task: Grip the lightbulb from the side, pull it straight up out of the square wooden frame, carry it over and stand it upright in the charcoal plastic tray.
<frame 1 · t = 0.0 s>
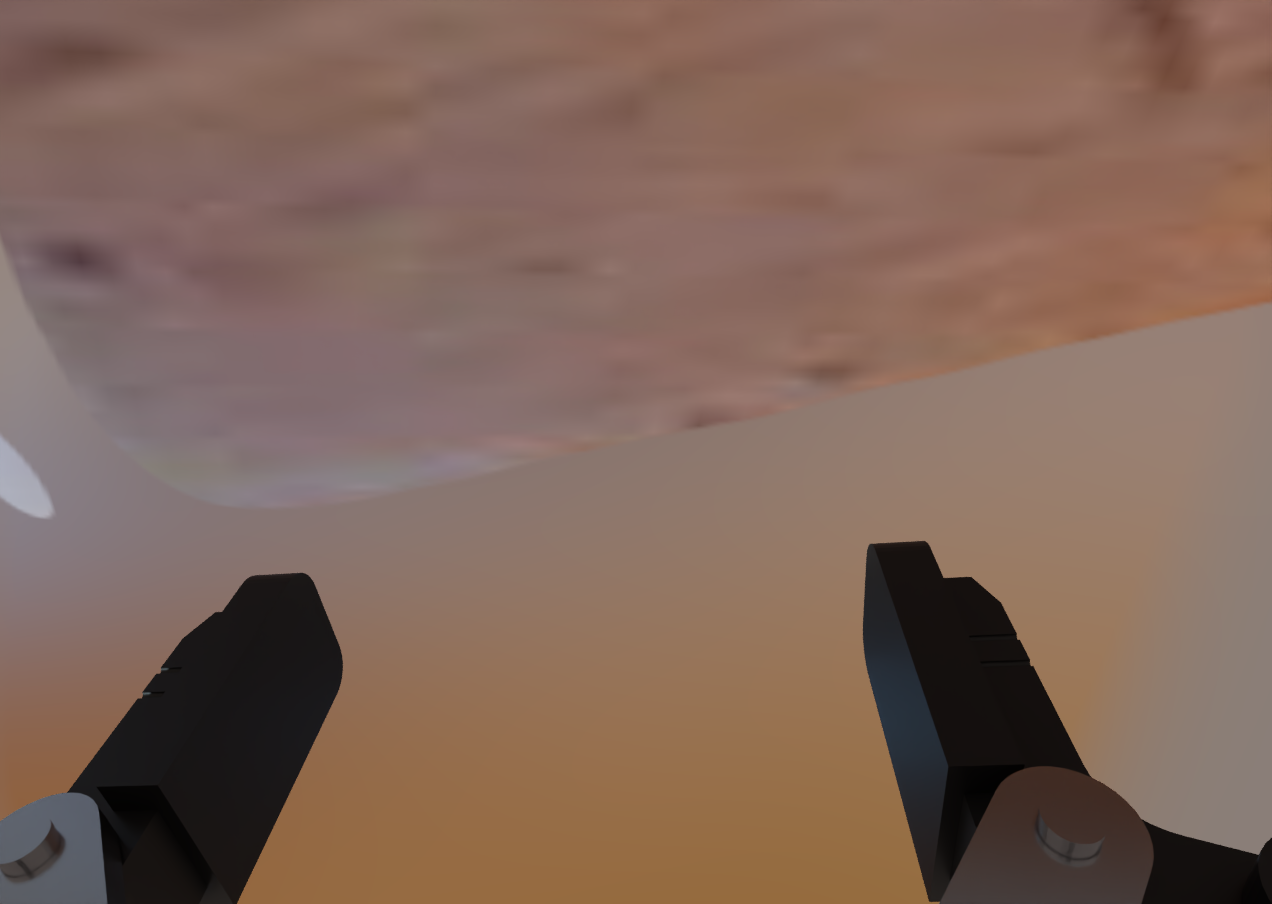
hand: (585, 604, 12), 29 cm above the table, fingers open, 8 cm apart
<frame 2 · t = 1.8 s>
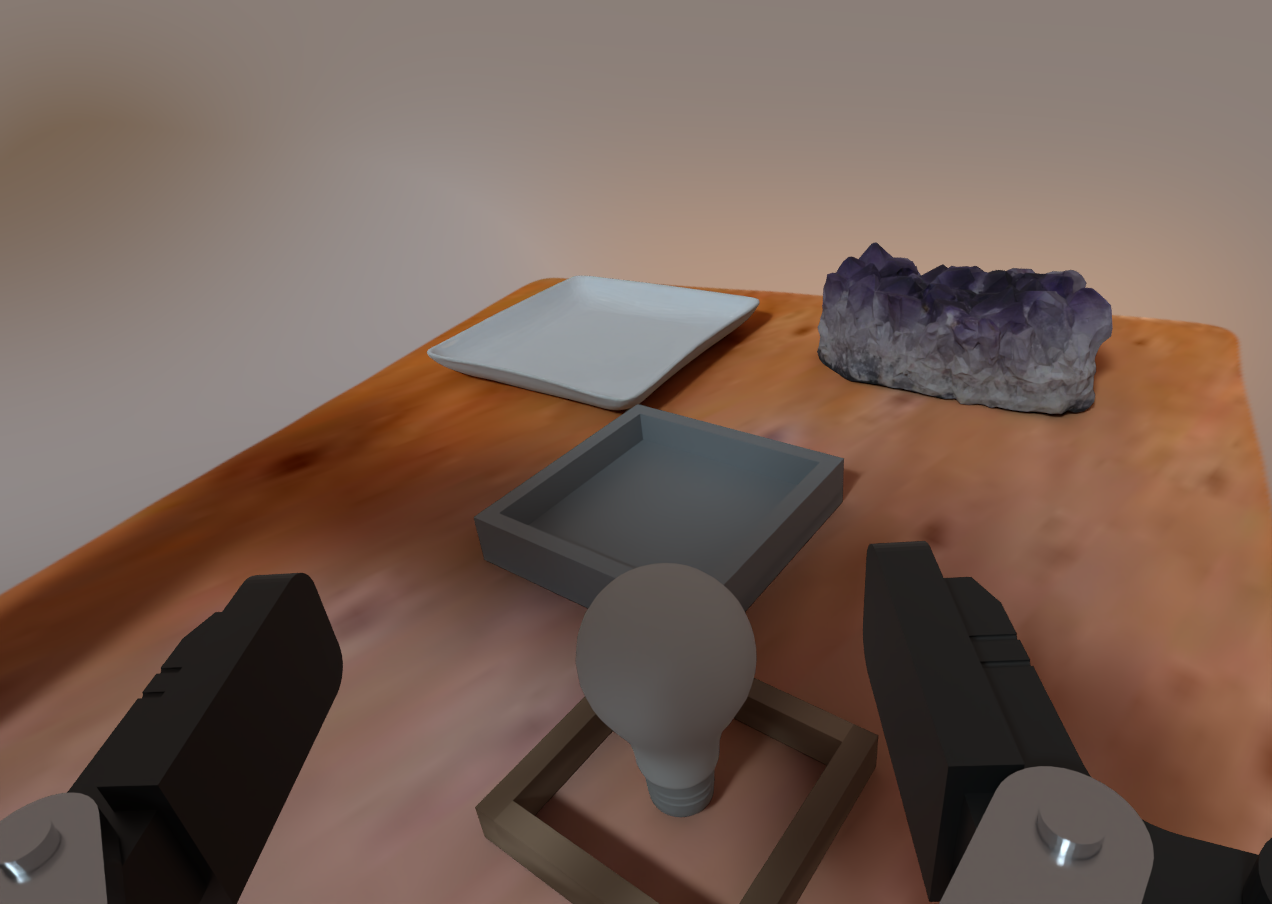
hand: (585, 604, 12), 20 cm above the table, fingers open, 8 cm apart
tray: (665, 530, 46), on the table
lightbulb: (683, 804, 31), resting in square wooden frame
salad plate: (602, 360, 70), on the table
geode: (945, 380, 60), on the table
square wooden frame: (683, 800, 31), on the table
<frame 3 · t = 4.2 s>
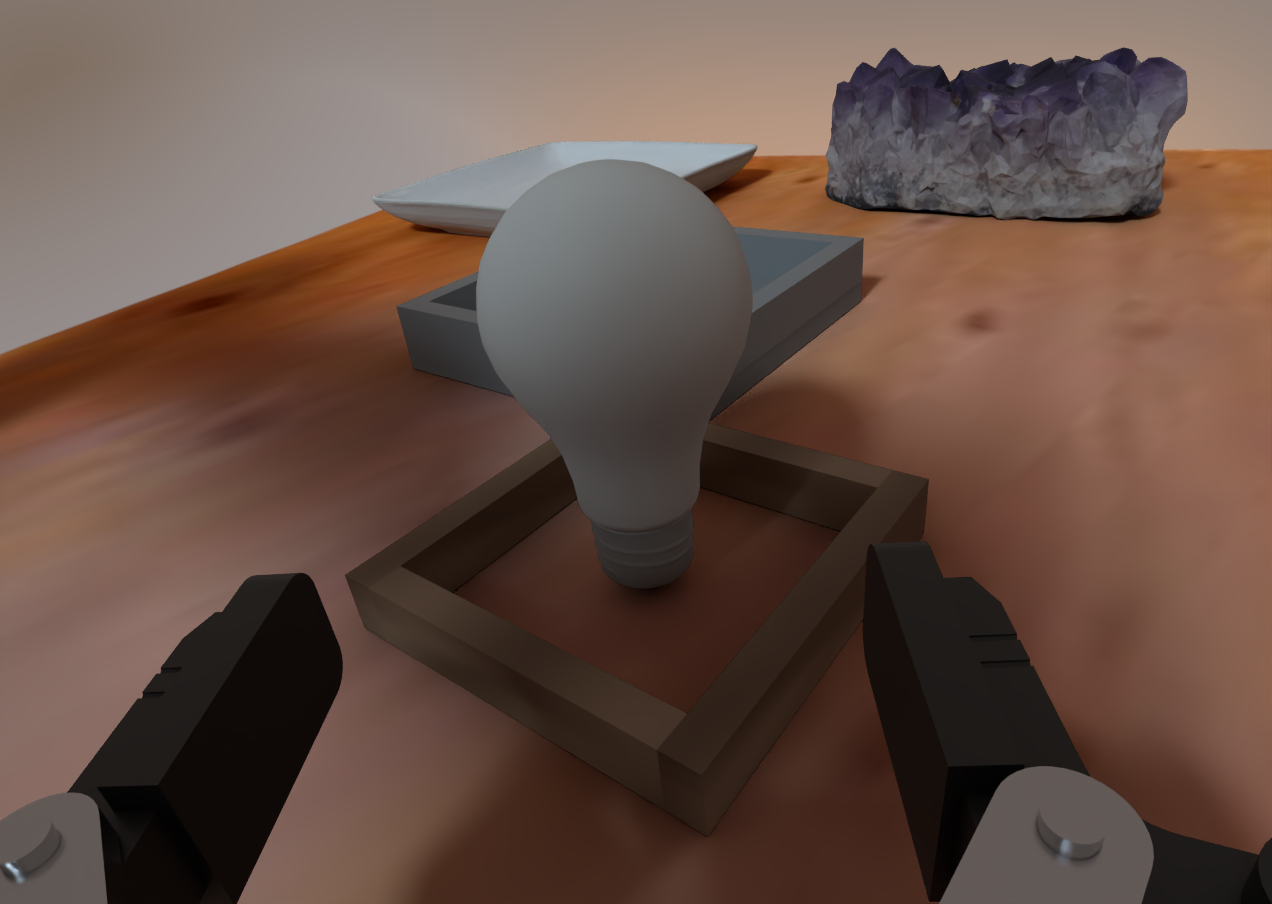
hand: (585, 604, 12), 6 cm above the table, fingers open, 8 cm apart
tray: (640, 333, 37), on the table
lightbulb: (650, 585, 22), resting in square wooden frame
salad plate: (576, 216, 61), on the table
geode: (976, 206, 51), on the table
square wooden frame: (649, 579, 22), on the table
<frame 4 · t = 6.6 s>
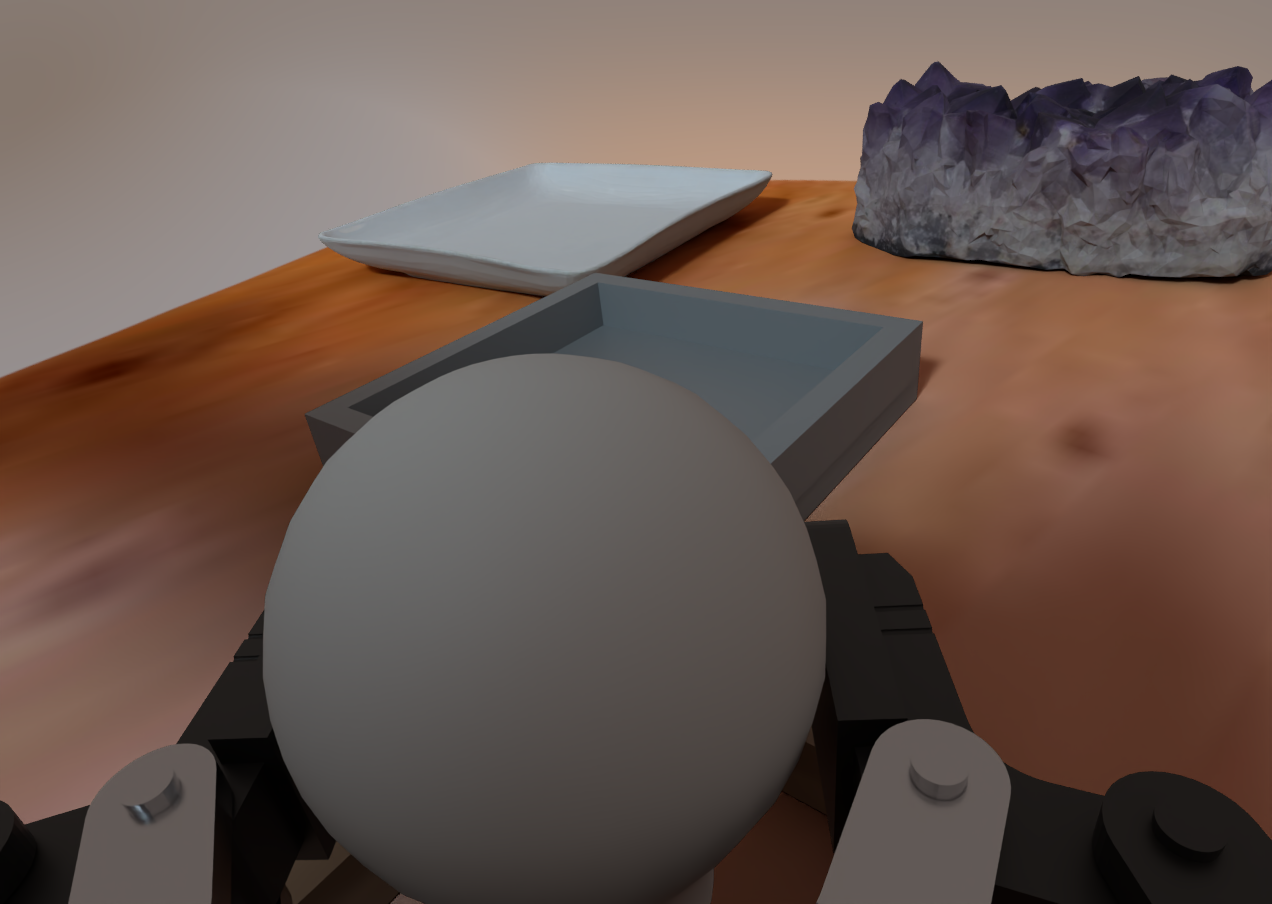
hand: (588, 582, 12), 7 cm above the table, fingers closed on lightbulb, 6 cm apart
tray: (629, 442, 29), on the table
salad plate: (560, 254, 52), on the table
geode: (1038, 253, 42), on the table
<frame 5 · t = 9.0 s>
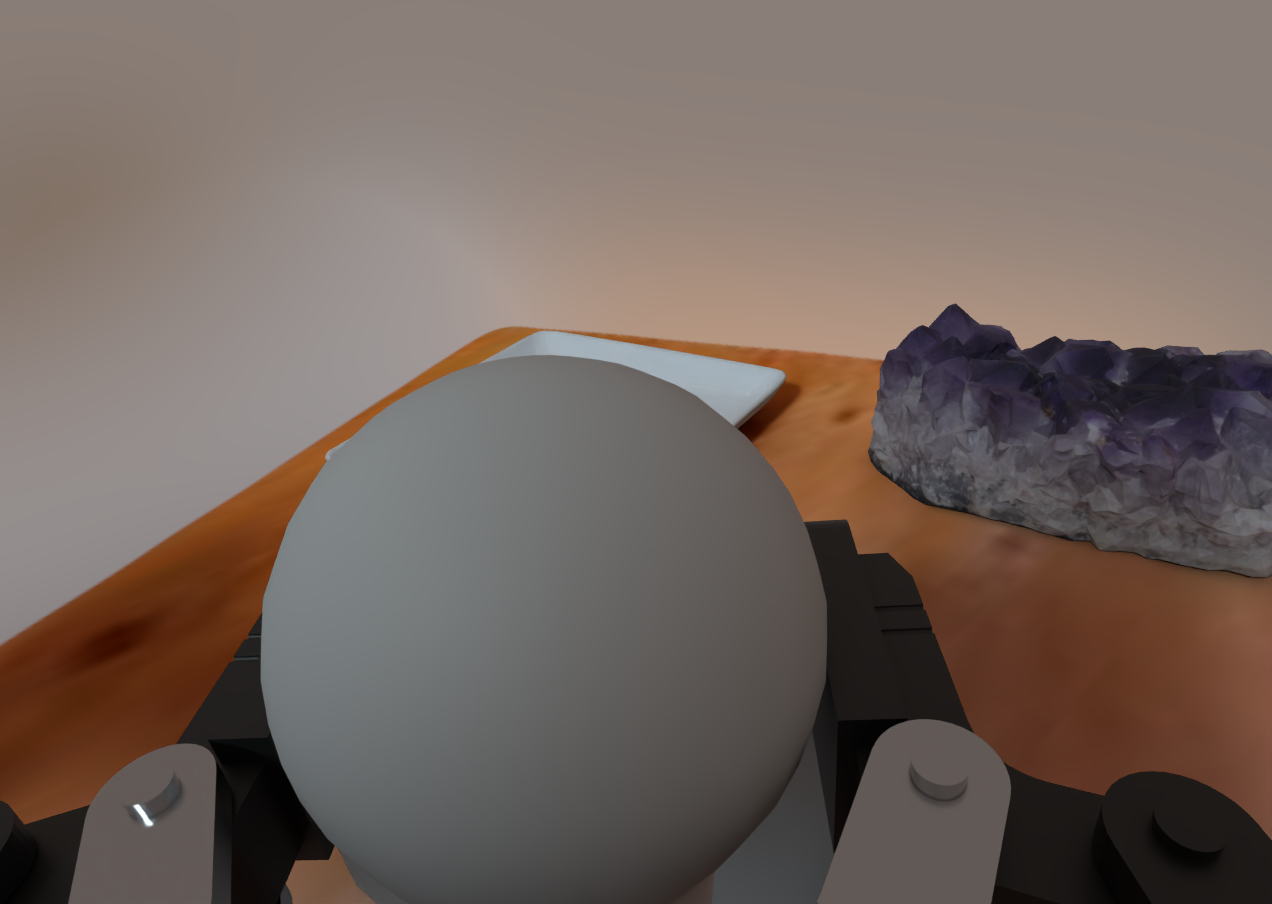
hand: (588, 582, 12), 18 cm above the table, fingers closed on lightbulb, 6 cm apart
tray: (662, 824, 28), on the table
salad plate: (572, 458, 51), on the table
geode: (1059, 501, 41), on the table
when the fingers open (9 cm above the table, at t = 11.9 s): lightbulb drops 1 cm, resting on tray.
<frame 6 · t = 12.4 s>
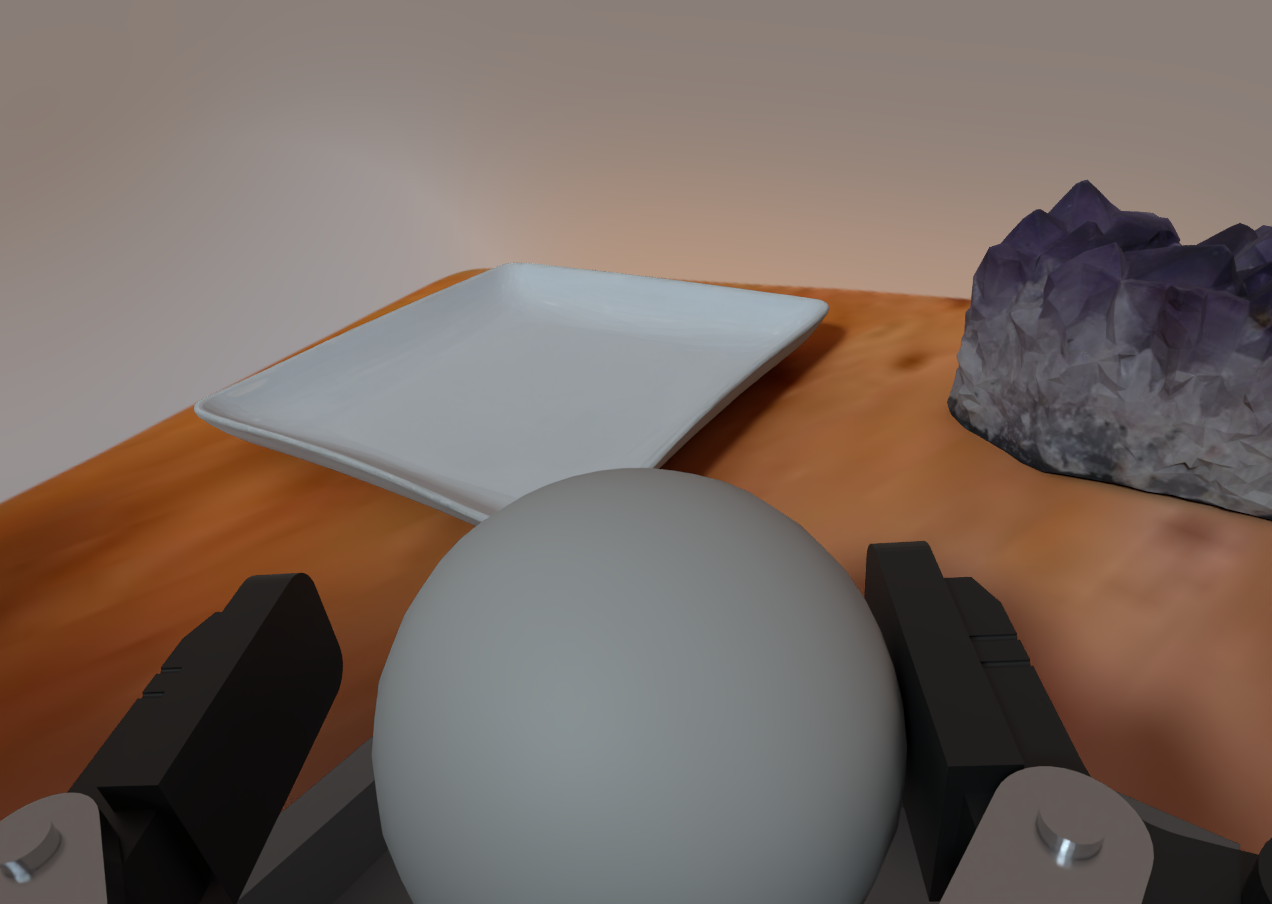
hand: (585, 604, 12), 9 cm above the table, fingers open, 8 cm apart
salad plate: (538, 416, 38), on the table
geode: (1240, 467, 28), on the table
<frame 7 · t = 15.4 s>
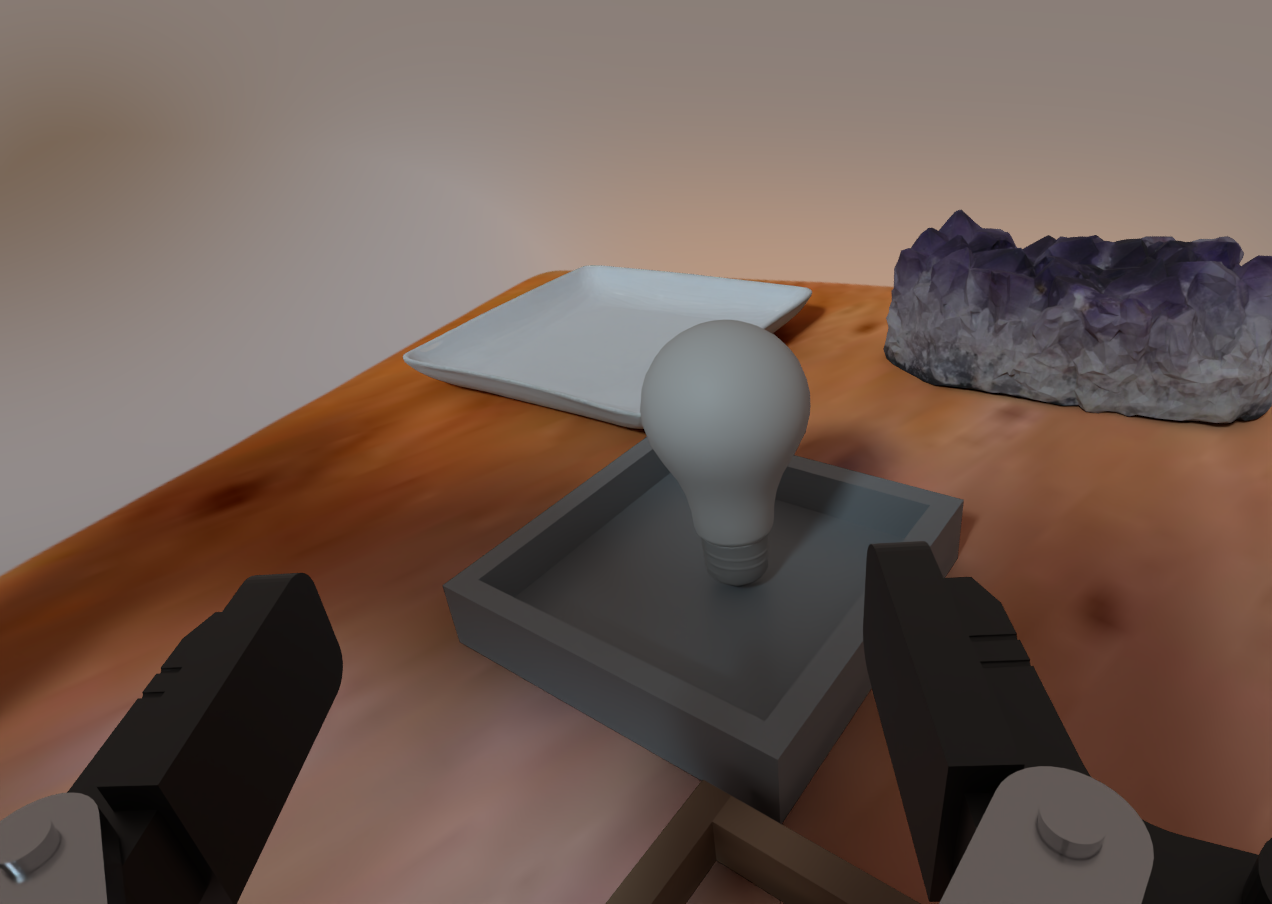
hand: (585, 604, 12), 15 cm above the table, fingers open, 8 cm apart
tray: (711, 599, 33), on the table
lightbulb: (738, 584, 33), point 1 cm above the table, touching tray
salad plate: (618, 366, 57), on the table
geode: (1053, 381, 47), on the table
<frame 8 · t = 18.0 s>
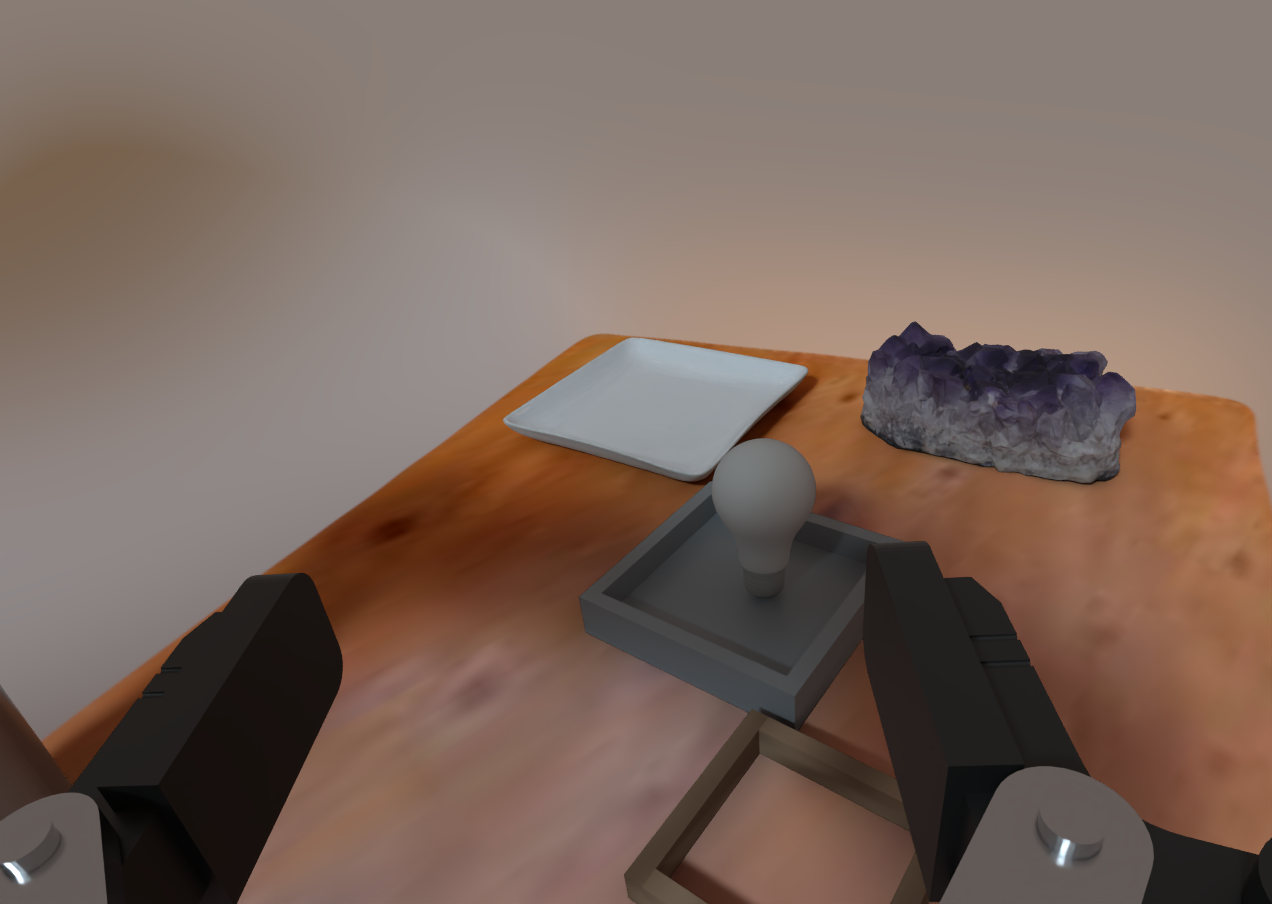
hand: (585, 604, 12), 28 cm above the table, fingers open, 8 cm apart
tray: (746, 605, 52), on the table
lightbulb: (764, 596, 51), point 1 cm above the table, touching tray
salad plate: (662, 424, 75), on the table
geode: (980, 445, 66), on the table
square wooden frame: (795, 866, 37), on the table
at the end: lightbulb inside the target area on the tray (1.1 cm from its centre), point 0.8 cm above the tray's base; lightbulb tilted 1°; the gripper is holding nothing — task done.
